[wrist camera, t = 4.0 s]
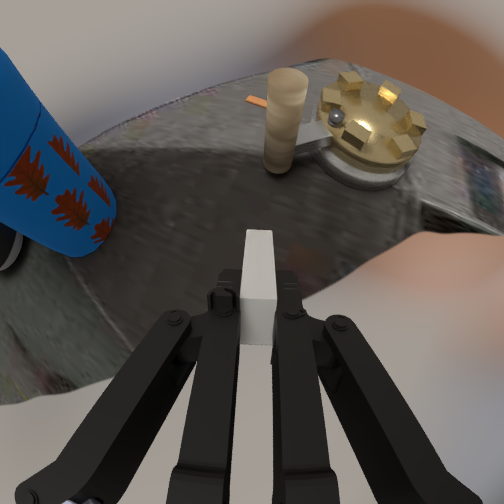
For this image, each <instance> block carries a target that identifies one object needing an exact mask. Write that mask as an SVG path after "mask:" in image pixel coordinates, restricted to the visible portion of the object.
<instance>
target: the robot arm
mask: <svg viewBox="0 0 504 504" xmlns="http://www.w3.org/2000/svg"><path fill="white" fill-rule="evenodd" d="M207 300H208V311H207V312H206V313H204V314H201V315H197V316H191V317H190V315H189V314H188V313H187V312H185V311H183V310H178V309H175V310H169V311H167V312H165V313H164V314H162V315H161V316H160V318H159V319H158V320H157V322H156V323H155V324H154V326H153V327H152V328H151V329H150V331H149V332H148V333H147V335H146V336H145V337H144V339H143V340H142V341H141V342H140V344H139V345H138V346H137V348H136V349H135V350H134V352H133V353H132V354H131V356H130V357H129V358H128V360H127V361H126V362H125V364H124V365H123V366H122V368H121V369H120V370H119V372H118V373H117V374H116V376H115V377H114V379H113V380H112V381H111V383H110V384H109V385H108V387H107V388H106V389H105V391H104V392H103V394H102V395H101V396H100V398H99V399H98V400H97V402H96V403H95V405H94V406H93V407H92V409H91V410H90V412H89V413H88V414H87V416H86V417H85V419H84V420H83V422H82V423H81V424H80V426H79V427H78V429H77V430H76V432H75V433H74V434H73V436H72V437H71V439H70V440H69V442H68V443H67V445H66V446H65V447H64V449H63V451H62V452H61V454H60V455H59V456H58V458H57V459H56V461H54V462H53V463H51V464H50V465H48V466H47V467H45V468H44V469H42V470H41V471H39V472H38V473H36V474H34V475H33V476H31V477H30V478H29V479H27V480H25V481H24V482H22V483H20V484H19V486H18V487H17V488H16V491H15V501H16V504H117V503H118V501H119V500H120V499H121V497H122V496H123V494H124V493H125V491H126V489H127V488H128V486H129V484H130V482H131V480H132V479H133V477H134V475H135V473H136V471H137V470H138V468H139V466H140V464H141V462H142V460H143V459H144V457H145V455H146V453H147V451H148V449H149V448H150V446H151V444H152V442H153V441H154V439H155V437H156V435H157V433H158V431H159V430H160V428H161V426H162V424H163V422H164V421H165V419H166V417H167V415H168V413H169V412H170V410H171V408H172V406H173V404H174V403H175V401H176V399H177V397H178V395H179V393H180V392H181V390H182V388H183V386H184V384H185V382H186V381H187V379H188V377H189V375H190V373H191V371H192V370H193V368H194V366H195V364H196V361H197V365H196V370H195V375H194V380H193V385H192V390H191V395H190V400H189V405H188V410H187V415H186V422H185V426H184V431H183V437H182V443H181V448H180V454H179V459H178V463H177V465H176V466H175V467H174V468H173V470H172V473H171V477H170V482H169V488H168V494H167V500H166V504H229V500H230V499H229V498H230V474H231V461H232V447H233V434H234V420H235V407H236V392H237V380H238V379H237V378H238V365H239V353H240V352H239V351H240V344H250V345H251V344H252V345H272V342H273V348H272V357H271V364H272V384H273V385H272V389H273V390H272V392H273V495H272V504H340V499H339V489H338V481H337V476H336V474H335V472H334V471H333V470H332V469H331V467H330V462H329V453H328V445H327V437H326V429H325V421H324V414H323V407H322V400H321V393H320V386H319V380H318V376H319V378H320V380H321V382H322V384H323V386H324V388H325V391H326V393H327V395H328V397H329V399H330V401H331V403H332V406H333V408H334V410H335V412H336V414H337V416H338V419H339V421H340V423H341V425H342V427H343V429H344V431H345V434H346V436H347V438H348V440H349V442H350V445H351V447H352V449H353V451H354V453H355V455H356V457H357V460H358V462H359V464H360V466H361V468H362V471H363V473H364V475H365V477H366V479H367V482H368V484H369V486H370V488H371V490H372V493H373V495H374V497H375V499H376V501H377V502H378V504H483V502H482V500H481V499H480V498H479V496H477V495H476V494H475V493H473V492H472V491H471V490H470V489H469V488H467V487H466V486H465V485H463V484H462V483H461V482H460V481H458V480H457V479H456V478H455V477H454V476H452V475H451V474H450V473H449V472H447V470H446V468H445V467H444V465H443V463H442V462H441V460H440V458H439V456H438V454H437V453H436V451H435V449H434V447H433V446H432V444H431V442H430V441H429V439H428V437H427V435H426V434H425V432H424V430H423V429H422V427H421V425H420V424H419V422H418V420H417V419H416V417H415V416H414V414H413V412H412V411H411V409H410V408H409V406H408V404H407V403H406V401H405V399H404V398H403V396H402V395H401V393H400V392H399V390H398V388H397V387H396V385H395V384H394V382H393V380H392V379H391V377H390V376H389V374H388V373H387V371H386V370H385V368H384V367H383V365H382V363H381V362H380V360H379V359H378V357H377V356H376V355H375V353H374V351H373V350H372V349H371V347H370V345H369V344H368V342H367V341H366V340H365V338H364V337H363V335H362V334H361V332H360V331H359V329H358V328H357V326H356V325H355V323H354V322H353V321H352V320H351V319H350V318H348V317H346V316H343V315H332V316H329V317H328V318H327V319H326V321H323V320H319V319H315V318H313V317H311V316H309V315H308V314H307V312H306V310H305V309H304V308H303V305H302V299H301V294H300V289H299V284H298V278H297V276H296V275H295V274H294V272H293V271H276V270H275V263H274V250H273V237H272V231H270V230H247V233H246V242H245V252H244V261H243V270H234V269H224V270H223V271H222V272H221V273H220V274H219V278H218V282H217V287H216V288H213V289H212V290H211V291H209V293H208V294H207Z"/></svg>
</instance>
